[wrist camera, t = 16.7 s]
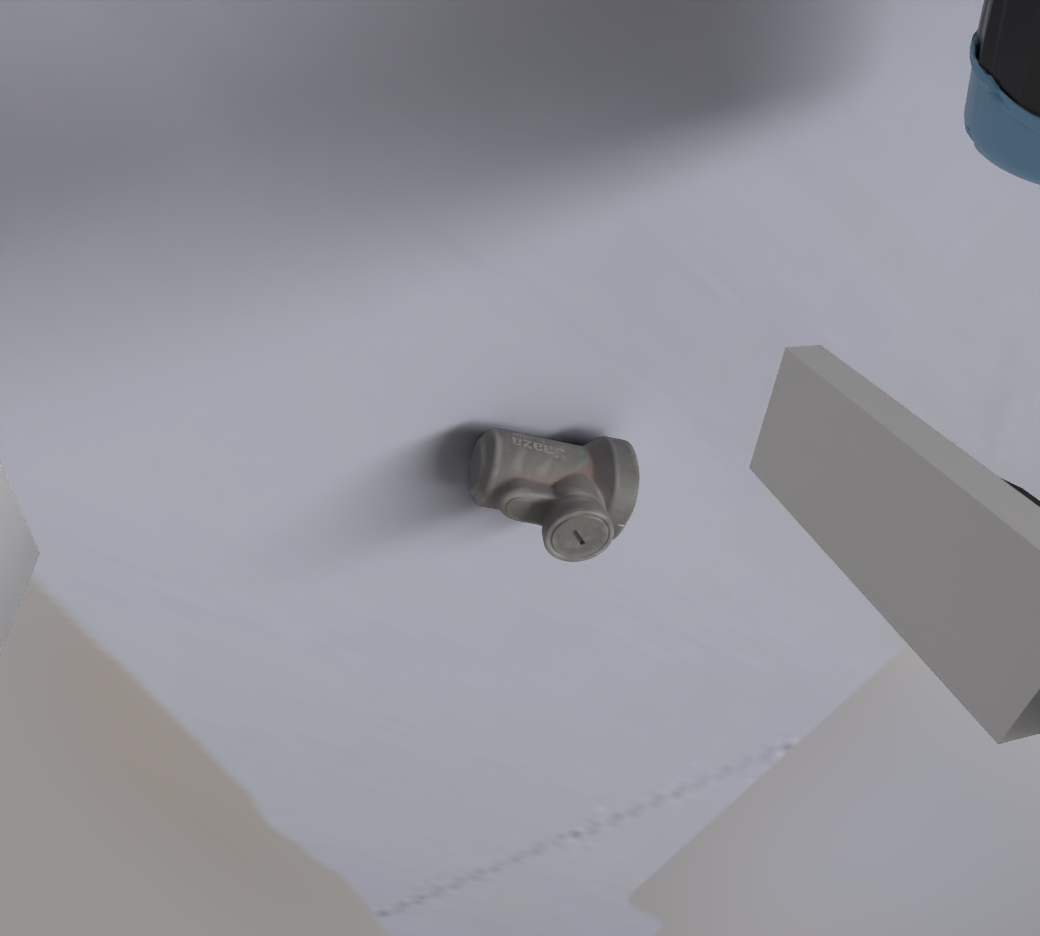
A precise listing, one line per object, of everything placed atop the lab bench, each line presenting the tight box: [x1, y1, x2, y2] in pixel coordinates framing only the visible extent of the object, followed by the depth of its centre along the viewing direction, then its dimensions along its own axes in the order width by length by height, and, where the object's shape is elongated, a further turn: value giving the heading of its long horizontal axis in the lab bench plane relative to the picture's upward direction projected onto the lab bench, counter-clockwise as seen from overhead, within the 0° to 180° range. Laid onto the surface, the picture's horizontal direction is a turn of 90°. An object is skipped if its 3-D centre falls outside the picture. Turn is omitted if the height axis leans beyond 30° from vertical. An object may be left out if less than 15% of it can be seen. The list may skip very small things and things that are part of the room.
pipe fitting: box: [468, 428, 639, 562], centre depth 54 cm, size 12×8×10 cm
